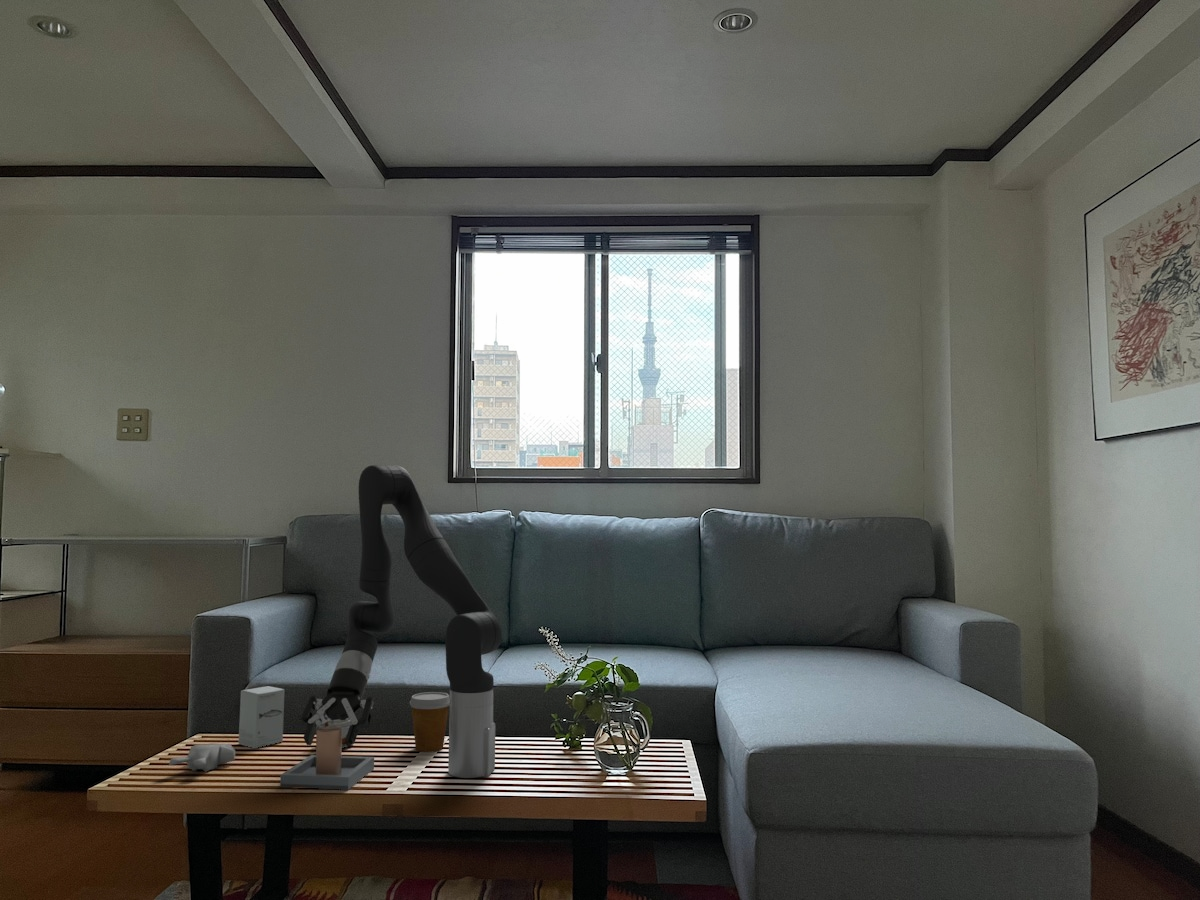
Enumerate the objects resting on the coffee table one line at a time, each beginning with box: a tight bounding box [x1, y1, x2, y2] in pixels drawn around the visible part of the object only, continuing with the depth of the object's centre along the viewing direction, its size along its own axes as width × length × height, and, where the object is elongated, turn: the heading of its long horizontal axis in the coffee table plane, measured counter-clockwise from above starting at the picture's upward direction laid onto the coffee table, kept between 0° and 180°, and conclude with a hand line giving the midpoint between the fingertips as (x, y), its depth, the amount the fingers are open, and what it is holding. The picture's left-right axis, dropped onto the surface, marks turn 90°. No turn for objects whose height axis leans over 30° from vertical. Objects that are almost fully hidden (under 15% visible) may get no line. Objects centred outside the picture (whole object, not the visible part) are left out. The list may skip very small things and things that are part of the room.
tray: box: [279, 754, 375, 791], centre depth 172 cm, size 14×14×2 cm
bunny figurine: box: [168, 743, 236, 772], centre depth 179 cm, size 10×5×15 cm
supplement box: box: [238, 685, 285, 749], centre depth 199 cm, size 7×7×13 cm
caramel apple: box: [318, 718, 353, 749], centre depth 196 cm, size 8×8×15 cm
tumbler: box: [315, 726, 343, 775], centre depth 172 cm, size 5×5×9 cm
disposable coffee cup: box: [409, 691, 450, 753], centre depth 195 cm, size 10×10×12 cm
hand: (327, 743), depth 171 cm, fingers open, 8 cm apart
